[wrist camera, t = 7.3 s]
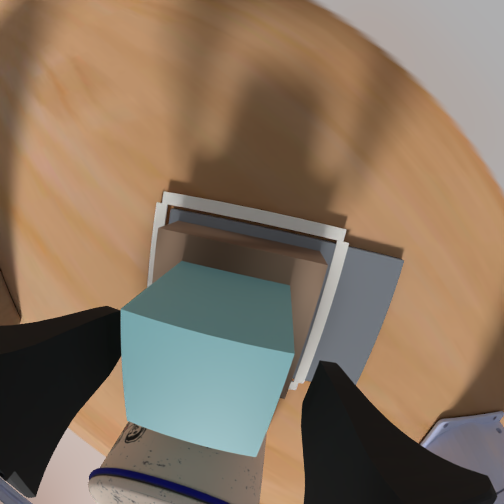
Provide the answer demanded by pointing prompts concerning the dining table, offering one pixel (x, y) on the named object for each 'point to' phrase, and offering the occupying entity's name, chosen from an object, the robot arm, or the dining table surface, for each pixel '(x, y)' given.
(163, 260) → the walnut base
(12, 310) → the wooden block
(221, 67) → the dining table surface
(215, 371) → the teal cube
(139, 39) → the dining table surface
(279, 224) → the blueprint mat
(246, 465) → the teacup with lid
